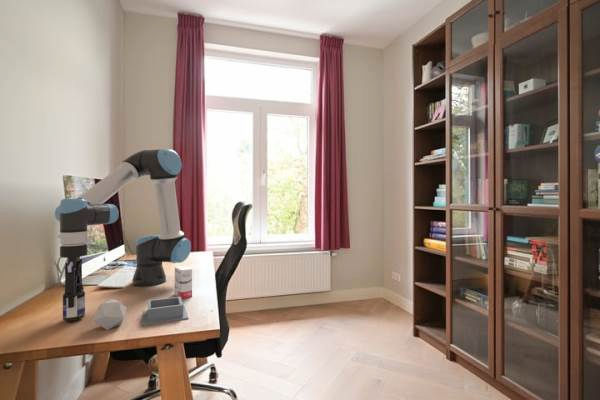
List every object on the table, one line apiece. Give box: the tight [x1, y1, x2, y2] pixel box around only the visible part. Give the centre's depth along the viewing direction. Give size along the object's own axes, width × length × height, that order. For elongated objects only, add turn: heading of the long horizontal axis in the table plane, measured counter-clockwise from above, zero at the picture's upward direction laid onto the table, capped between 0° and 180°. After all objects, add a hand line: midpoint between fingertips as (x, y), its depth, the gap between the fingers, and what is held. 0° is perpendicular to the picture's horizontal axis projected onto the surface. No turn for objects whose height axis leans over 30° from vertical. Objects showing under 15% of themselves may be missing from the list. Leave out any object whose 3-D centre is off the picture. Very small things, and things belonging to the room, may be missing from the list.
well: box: [141, 296, 189, 326], centre depth 111 cm, size 14×14×4 cm
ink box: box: [173, 265, 193, 299], centre depth 135 cm, size 8×5×12 cm, turn 39°
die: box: [92, 298, 128, 331], centre depth 101 cm, size 8×9×10 cm
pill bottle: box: [62, 282, 86, 321], centre depth 107 cm, size 6×6×11 cm
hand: (74, 313), depth 107 cm, fingers closed on pill bottle, 6 cm apart
